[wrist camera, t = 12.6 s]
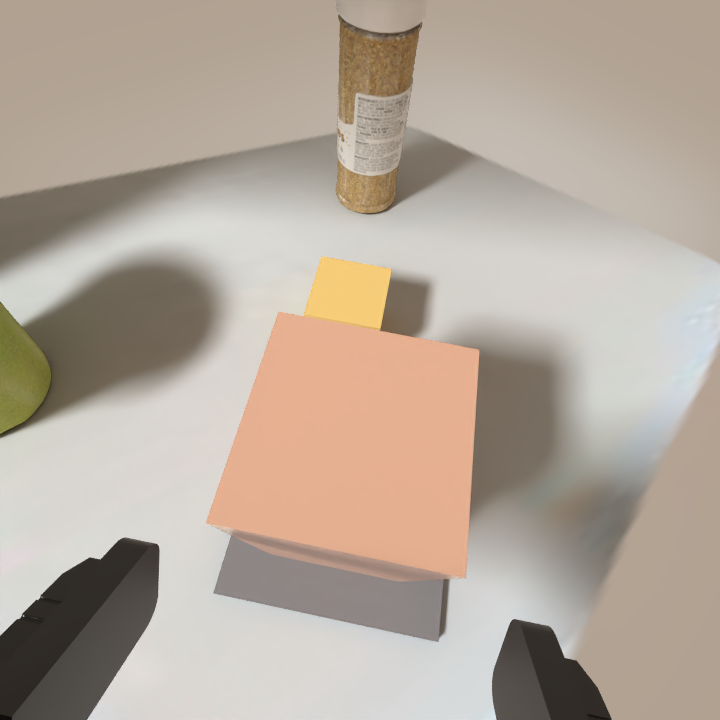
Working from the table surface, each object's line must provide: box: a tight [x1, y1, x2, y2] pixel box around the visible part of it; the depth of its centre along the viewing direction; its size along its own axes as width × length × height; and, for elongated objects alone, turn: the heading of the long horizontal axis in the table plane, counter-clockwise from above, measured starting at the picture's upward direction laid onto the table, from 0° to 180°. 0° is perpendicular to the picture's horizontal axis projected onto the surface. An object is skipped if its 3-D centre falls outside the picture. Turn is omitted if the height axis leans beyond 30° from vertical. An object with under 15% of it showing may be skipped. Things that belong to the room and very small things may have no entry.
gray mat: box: [214, 535, 444, 642], centre depth 21 cm, size 10×10×1 cm
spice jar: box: [336, 0, 428, 213], centre depth 26 cm, size 5×5×14 cm
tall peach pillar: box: [206, 312, 479, 582], centre depth 16 cm, size 6×6×11 cm
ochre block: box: [304, 256, 392, 331], centre depth 24 cm, size 4×4×4 cm
